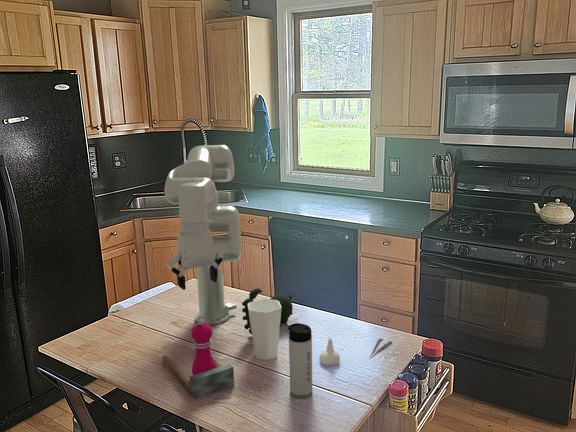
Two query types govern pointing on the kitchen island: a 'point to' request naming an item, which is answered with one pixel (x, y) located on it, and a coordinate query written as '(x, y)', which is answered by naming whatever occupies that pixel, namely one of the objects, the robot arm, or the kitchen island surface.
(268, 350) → the cup
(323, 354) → the garlic bulb
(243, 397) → the kitchen island surface
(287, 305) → the toy figurine
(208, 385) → the guide channel
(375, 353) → the tweezers
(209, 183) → the robot arm
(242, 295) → the kitchen island surface
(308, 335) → the travel mug
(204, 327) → the pepper mill
